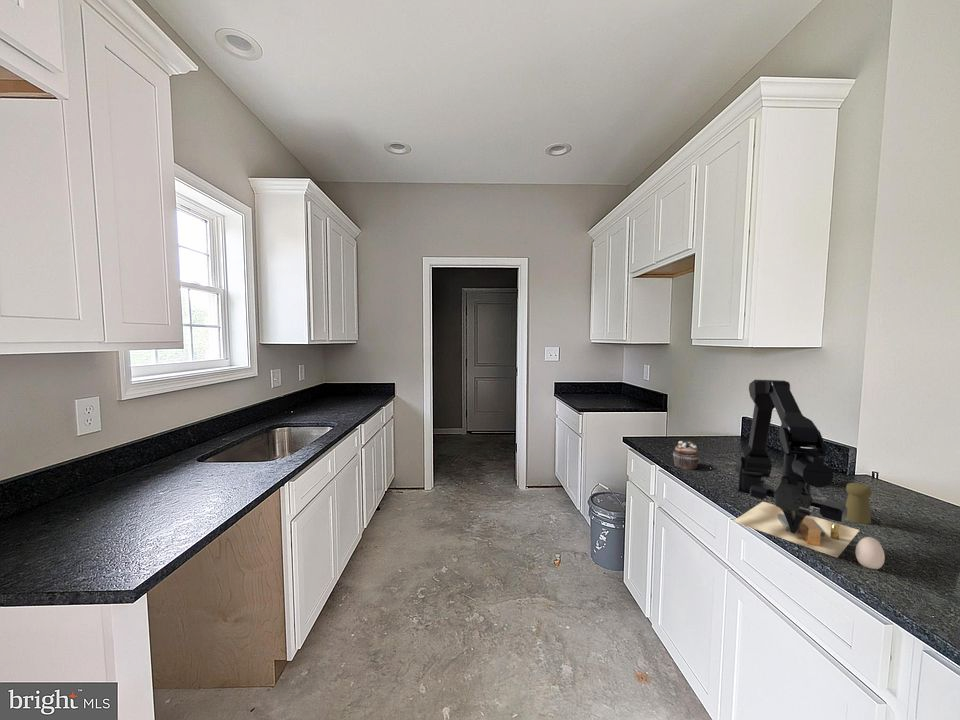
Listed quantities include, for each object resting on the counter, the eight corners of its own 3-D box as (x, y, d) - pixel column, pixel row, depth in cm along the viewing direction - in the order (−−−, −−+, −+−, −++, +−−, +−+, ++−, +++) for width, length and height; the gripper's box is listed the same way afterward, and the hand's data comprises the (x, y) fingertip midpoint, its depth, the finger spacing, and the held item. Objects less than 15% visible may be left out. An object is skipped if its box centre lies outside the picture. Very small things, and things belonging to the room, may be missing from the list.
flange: (777, 517, 111) (778, 504, 111) (813, 523, 108) (813, 509, 108) (793, 541, 98) (794, 526, 98) (834, 548, 95) (835, 532, 95)
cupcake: (668, 462, 163) (669, 438, 162) (692, 462, 163) (693, 438, 162) (679, 469, 153) (679, 444, 153) (704, 470, 153) (705, 445, 152)
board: (732, 524, 109) (733, 507, 109) (762, 504, 122) (763, 488, 122) (837, 561, 91) (838, 540, 91) (859, 533, 104) (860, 515, 104)
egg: (868, 563, 91) (870, 532, 91) (889, 575, 86) (892, 542, 86) (848, 563, 91) (850, 532, 90) (869, 575, 86) (871, 543, 86)
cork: (841, 515, 115) (843, 478, 114) (870, 521, 111) (872, 483, 110) (842, 523, 110) (845, 484, 110) (873, 530, 107) (875, 490, 106)
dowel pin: (829, 537, 100) (830, 524, 100) (831, 535, 101) (832, 522, 101) (837, 540, 99) (838, 527, 99) (839, 538, 100) (840, 525, 100)
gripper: (742, 468, 102) (739, 527, 103) (837, 492, 87) (832, 560, 88) (759, 461, 109) (755, 516, 110) (849, 481, 94) (845, 545, 95)
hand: (793, 532), depth 101 cm, fingers closed
